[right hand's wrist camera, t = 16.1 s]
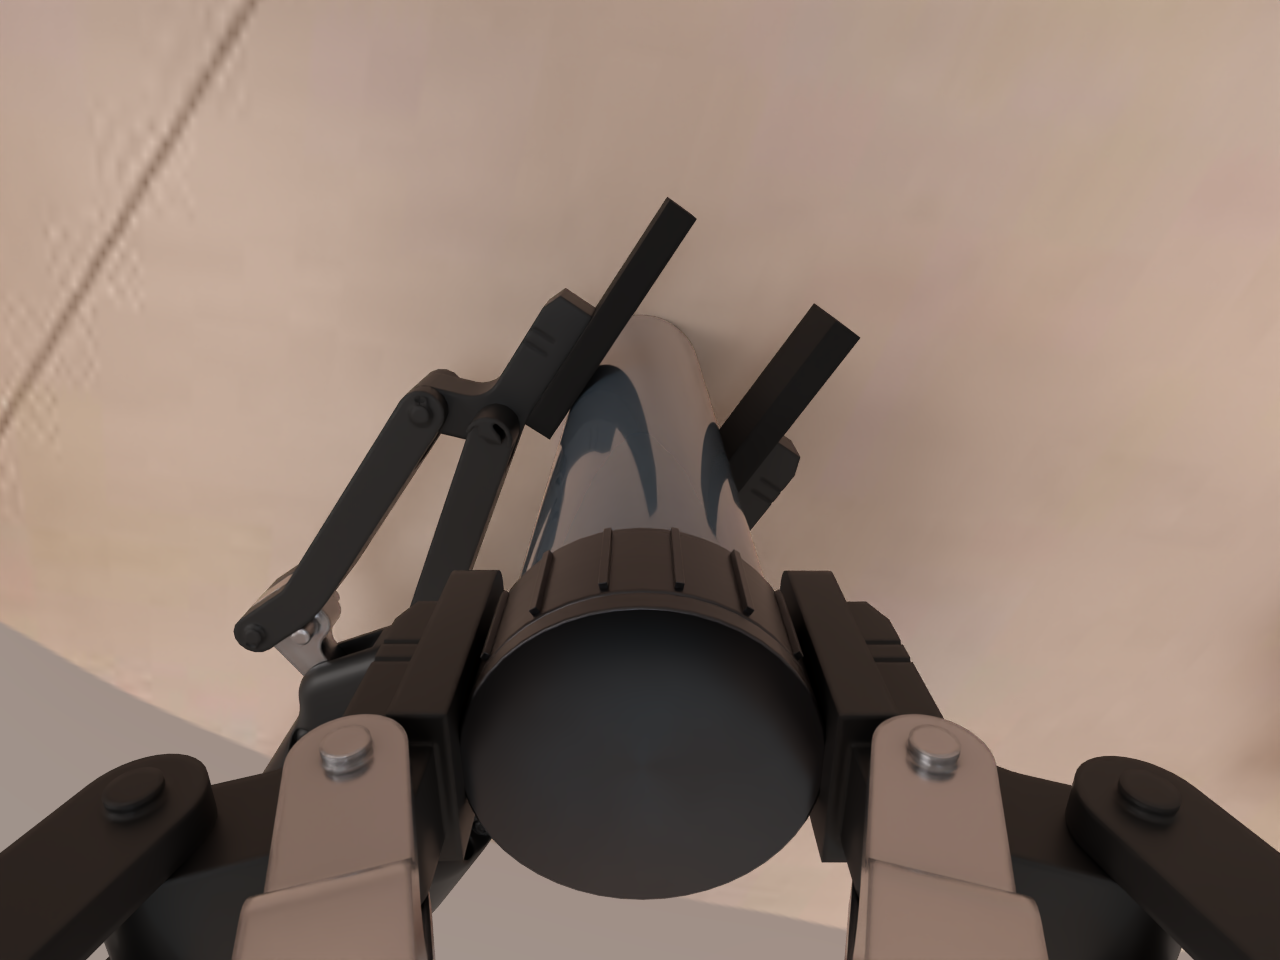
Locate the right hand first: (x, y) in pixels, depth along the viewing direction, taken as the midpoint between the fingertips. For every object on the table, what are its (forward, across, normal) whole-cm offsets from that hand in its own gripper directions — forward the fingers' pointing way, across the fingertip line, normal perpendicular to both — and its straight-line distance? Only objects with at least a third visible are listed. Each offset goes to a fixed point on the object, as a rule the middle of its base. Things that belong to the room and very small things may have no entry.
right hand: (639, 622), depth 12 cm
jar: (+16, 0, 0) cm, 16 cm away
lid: (-3, 0, 0) cm, 3 cm away
